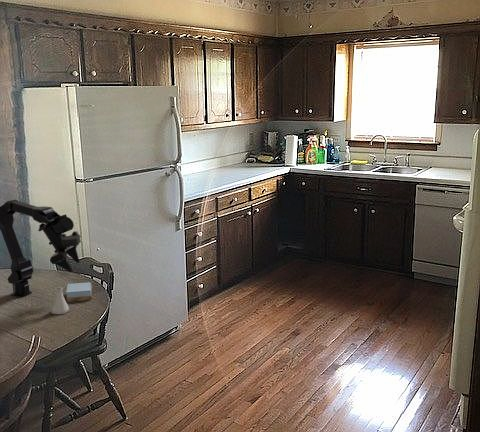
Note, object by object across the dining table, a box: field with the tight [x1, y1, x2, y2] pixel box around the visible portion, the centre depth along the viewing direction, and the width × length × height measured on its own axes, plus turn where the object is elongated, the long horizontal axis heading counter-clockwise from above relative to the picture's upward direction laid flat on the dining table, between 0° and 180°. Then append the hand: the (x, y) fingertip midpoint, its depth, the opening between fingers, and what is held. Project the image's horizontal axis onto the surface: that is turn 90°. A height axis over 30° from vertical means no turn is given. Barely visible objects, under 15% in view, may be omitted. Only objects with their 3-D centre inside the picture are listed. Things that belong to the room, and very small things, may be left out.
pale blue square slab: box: [65, 281, 92, 299], centre depth 235 cm, size 10×10×2 cm
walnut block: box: [66, 295, 92, 303], centre depth 235 cm, size 10×10×2 cm
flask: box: [51, 286, 70, 315], centre depth 218 cm, size 7×7×10 cm
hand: (75, 266), depth 227 cm, fingers open, 9 cm apart
